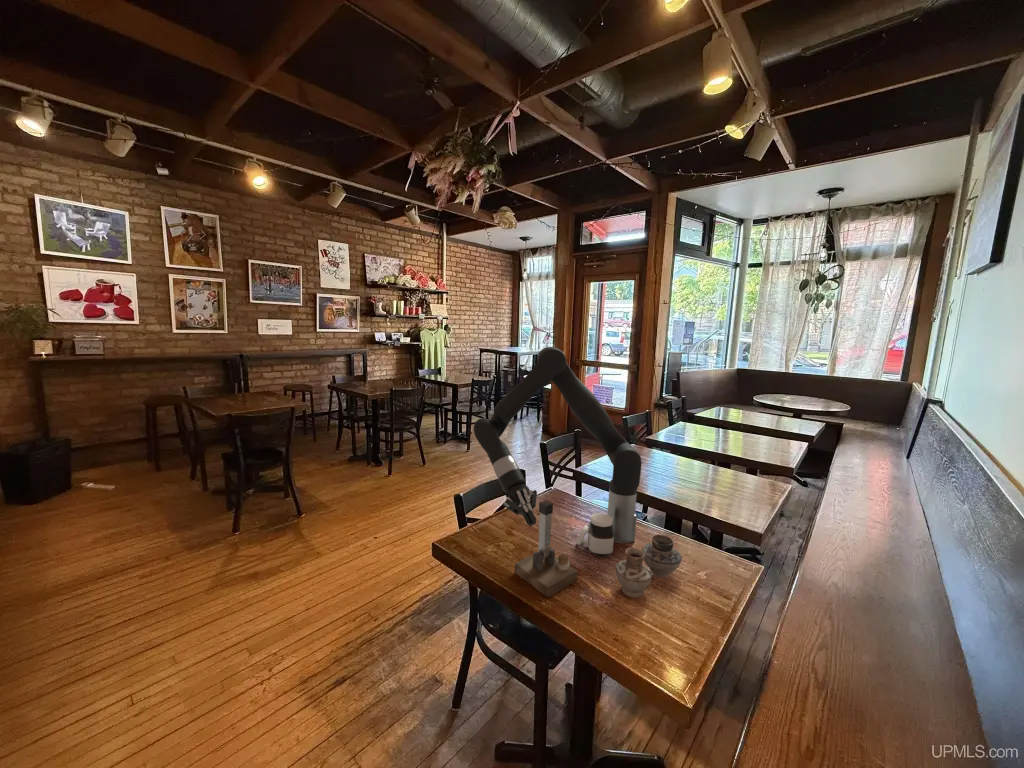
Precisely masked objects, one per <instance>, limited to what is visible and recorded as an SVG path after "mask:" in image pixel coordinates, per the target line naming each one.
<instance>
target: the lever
mask: <svg viewBox="0 0 1024 768" xmlns="http://www.w3.org/2000/svg"><path fill="white" fill-rule="evenodd" d="M538 503H539V504H538V512H539V520H538V521H539V525H538V549H537V552H538V553H540V554H541V555H543V560H544V559H546V558H548V557H549V555H550V547H551V536H552V535H551V534H552V532H551V531H552V516H553V515H552V514H553V510H554V504H553V502H551V501H549V500H544V501H540V502H538Z"/></svg>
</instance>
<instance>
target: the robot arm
mask: <svg viewBox="0 0 1024 768" xmlns="http://www.w3.org/2000/svg"><path fill="white" fill-rule="evenodd" d="M549 382H552V383H553V384H554V386H556V387H557V388H558V390H559V392H560V393H561V396H562V397H563V399H564V401H565V403H566V404H567V405H568V407H569V409H570V410H571V412H572V413H573V415H574V416H575V417H576V418H577V420H578V421H579V423H580V424H581V425H582V426H583V427H584V428H585V429H586V431H587V432H589V434H591V435H592V436H593V437H594V438H595V439H596V440H597V442H599V444H600V446H601V447H602V448H603V450H604V452H605V453H606V455H607V457H608V459H609V461H610V462H611V464H612V469H613V470H612V478H611V480H610V481H609V486H608V487H609V488H608V503H607V515H609V516H611V517H612V526H613V531H614V541H613V543H618V544H628V543H629V544H630V543H635V541H636V526H637V513H636V508H637V506H636V505H637V494H638V493H637V492H638V488H639V486H640V482H641V473H642V457H641V455H640V453H639V452H638V451H637V450H636V448H634V447H633V446H632V445H631V444H630V443H629V442H628V441H627V440H626V439H625V438H624V436H623V435H622V434H620V433H619V431H618V430H617V429H616V427H615V426H614V423H613V422H612V420H611V417H610V416H609V414H608V412H607V411H606V409H605V408H604V406H603V405H602V403H601V402H600V401H599V400H598V398H597V397H596V395H595V394H594V393H593V392H592V391H591V390H590V389H589V387H587V386H586V385H585V384H584V382H582V381H581V380H580V379H579V378H578V377H577V376H576V374H575V373H574V371H573V370H572V369H571V367H570V365H569V363H568V362H567V358H566V354H565V353H564V351H562V350H560V349H559V348H557V347H554V346H547V347H544V348H542V349H540V350H539V352H538V354H537V357H536V363H535V364H534V366H533V367H532V368H531V370H530V371H529V373H527V374H526V376H525V377H524V378H523V379H522V380H521V381H519V382H518V383H517V384H516V385H515V386H513V388H512V389H510V390H509V391H508V392H507V393H506V394H505V395H504V397H502V398H501V400H499V402H497V404H496V405H495V407H494V409H493V413H494V414H493V416H492V417H491V418H490V419H488V418H485V417H483V418H479V419H477V420H476V421H475V422H474V425H473V434H474V437H475V439H476V440H477V442H478V444H479V445H480V446H481V448H482V449H483V450H484V452H485V453H486V455H487V457H488V458H489V461H490V463H491V465H492V468H493V471H494V474H495V476H496V478H497V480H498V482H499V484H500V486H501V489H502V490H503V492H505V498H506V499H505V501H504V502H503V503H502V505H503V507H505V508H507V509H508V510H509V511H511V513H514V515H516V516H520V515H521V516H522V517H523V518H524V520H525V523H526V524H527V525H528V526H529V527H531V526H535V524H537V518H536V516H535V513H534V512H533V509H535V507H536V506H537V498H538V497H537V495H538V491H537V490H535V489H534V490H532V489H530V488H529V486H528V485H526V480H525V478H524V476H523V473H522V472H521V470H520V467H519V465H518V464H517V461H516V460H515V458H514V457H513V455H512V454H511V451H510V449H509V448H508V445H507V444H506V443H505V442H504V441H502V439H500V437H501V436H502V435H503V433H504V432H505V431H506V429H507V427H508V425H509V424H510V422H511V420H512V419H514V417H515V416H517V414H518V413H519V412H520V411H521V410H522V409H523V408H524V407H525V406H526V404H527V403H528V402H529V401H531V399H532V398H533V397H534V396H535V395H536V394H537V393H538V392H539V391H540V390H541V389H542V388H544V387H545V385H547V384H548V383H549Z"/></svg>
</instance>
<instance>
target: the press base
mask: <svg viewBox="0 0 1024 768" xmlns="http://www.w3.org/2000/svg"><path fill="white" fill-rule="evenodd" d="M570 561H571V560H569V556H568V555H567V554H566V553H563V552H562V553H560V554H558V557H557V556H556V550H555V549H554V548H552V547H551V546H550V555H549V557H548V558H546V559H544V560H543V555H541V554H540V553H538V551H534V552H533V553H532V554H531V555H529V556H528V557H526V558H523V559H521V560H519V561H517V562H515V563H514V573H515V574H516V575H517V576H519V577H520V578H521V579H523V580H524V581H526V582H527V583H528V584H529V585H530V586H532V587H533V588H534V589H536V590H538V592H540V593H541V594H542V595H544V596H545V597H547V598H549V597H551V596H553V595H554V594H556V593H558V592H560V591H561V590H563V589H565V588H567V587H568V586H570V585H573V584H574V583H575V582H577V581H578V570H577V569H575V568H574V567H573V566H571V562H570Z"/></svg>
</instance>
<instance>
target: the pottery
mask: <svg viewBox="0 0 1024 768" xmlns="http://www.w3.org/2000/svg"><path fill="white" fill-rule="evenodd" d="M625 556H626V559H624V560H621V561H619V562H618V563H616V564H615V569H614V570H615V574H616V577H617V580H618V581H619V584H620V585H621V591H622V592H623V594H624V595H626V596H627V597H629V598H635V599H638V598H641V597H642V596H643V595H644V591H645V590H646V589H647V588H648V586H649V585H650V584H651V581H652V578H653V576H655V577H657V578H661V579H667V578H669V577H670V575H671V574H672V573H673V572H675V571H676V570H677V569H678V568H679V567H680V564H681V563H682V555H681V553H680V552H679V551H678V550H677V549H676V548H675V547H674V539H673V538H671V537H670V536H668V535H665V534H654V535H652V537H651V542H649V543H646V544H645V545H643V546H642V549H639V548H636V547H628V548H626V549H625ZM643 562H645V564H644V563H643ZM637 597H638V598H637Z"/></svg>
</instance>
